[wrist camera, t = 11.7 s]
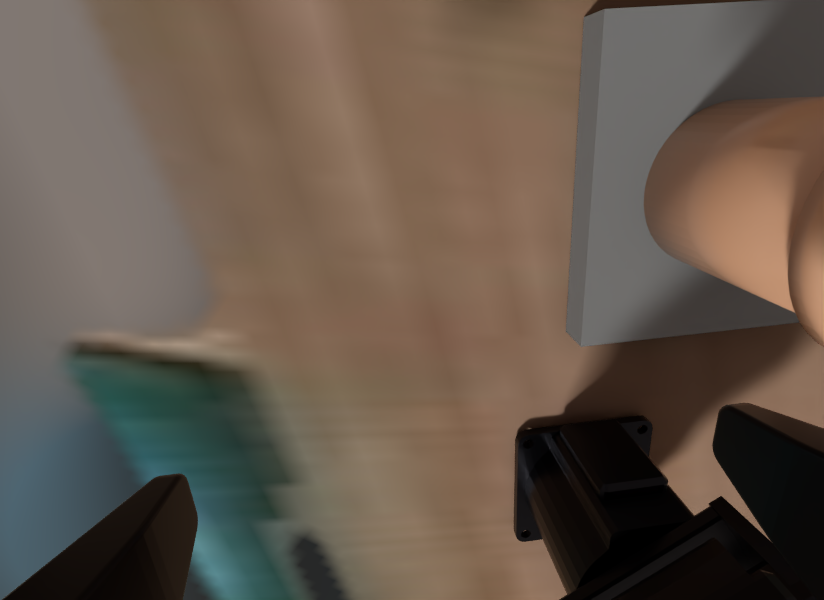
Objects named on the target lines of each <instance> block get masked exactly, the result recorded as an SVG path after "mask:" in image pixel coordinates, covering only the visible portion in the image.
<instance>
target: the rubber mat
mask: <svg viewBox="0 0 824 600" xmlns="http://www.w3.org/2000/svg"><path fill="white" fill-rule="evenodd" d="M795 97H824V0H762V1H743V2H724V3H705V4H687V5H668V6H649V7H630V8H611V9H603V10H601V11H598V12H596V13H593V14H591V15H588V16H586V17H584V25H583V43H582V60H581V78H580V95H579V113H578V130H577V147H576V165H575V182H574V200H573V217H572V235H571V252H570V270H569V287H568V304H567V322H566V332H567V333H568V334H569V335H570V336H571V337H572V338H573V339H574V340H575V341H576V342H577V343H578V344H579V345H580V346H581V347H583V346H592V345H601V344H610V343H619V342H628V341H637V340H646V339H655V338H664V337H673V336H682V335H691V334H700V333H709V332H718V331H727V330H736V329H745V328H754V327H763V326H772V325H781V324H790V323H799V320H798V318H797V316H796V313H794V312H792V311H790V310H788V309H786V308H783V307H781V306H779V305H777V304H774V303H772V302H770V301H768V300H766V299H763V298H761V297H759V296H757V295H754V294H752V293H750V292H748V291H746V290H743V289H741V288H739V287H737V286H734V285H732V284H730V283H728V282H726V281H723V280H721V279H719V278H717V277H714V276H712V275H710V274H708V273H706V272H703V271H701V270H699V269H697V268H695V267H692V266H690V265H688V264H686V263H683V262H681V261H679V260H677V259H675V258H673V257H671V256H670V255H668V254H666V253H665V252H664V251H663V250H662V249H661V248H660V247H659V246H658V245H657V243H656V242H655V241H654V239H653V237H652V236H651V234H650V232H649V229H648V226H647V223H646V219H645V214H644V192H645V186H646V181H647V178H648V174H649V171H650V169H651V166H652V164H653V161H654V159H655V158H656V156H657V154H658V152H659V150H660V149H661V147H662V146H663V144H664V143H665V142H666V140H667V139H668V138H669V137H670V135H671V134H672V133H673V132H674V131H675V130H676V129H677V128H678V127H679V126H680V125H681V124H682V123H683V122H684V121H686V120H687V119H689V118H690V117H691V116H693V115H694V114H696V113H697V112H699V111H701V110H703V109H704V108H707V107H709V106H711V105H714V104H717V103H720V102H724V101H730V100H739V99H767V98H795Z"/></svg>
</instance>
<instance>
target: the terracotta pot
mask: <svg viewBox="0 0 824 600" xmlns="http://www.w3.org/2000/svg"><path fill="white" fill-rule="evenodd" d="M644 214H645V219H646V223H647V226H648V229H649V232H650V234H651V236H652V237H653V239H654V241H655V242H656V243H657V245H658V246H659V247H660V248H661V249H662V250H663V251H664V252H665V253H666V254H668V255H670V256H671V257H673V258H675V259H677V260H679V261H681V262H683V263H686V264H688V265H690V266H692V267H695V268H697V269H699V270H701V271H703V272H706V273H708V274H710V275H712V276H714V277H717V278H719V279H721V280H723V281H726V282H728V283H730V284H732V285H734V286H737V287H739V288H741V289H743V290H746V291H748V292H750V293H752V294H754V295H757V296H759V297H761V298H763V299H766V300H768V301H770V302H772V303H774V304H777V305H779V306H781V307H783V308H786V309H788V310H790V311H792V312H794V313H796V316H797V318H798V320H799V322H800V324H801V325H802V326H803V328H804V329H805V331H806V332H807V333H808V334H809V335H810V336H811V337H812V338H813V339H814V340H815V341H816V342H817V343H818V344H820V345H821V346H823V347H824V97H795V98H767V99H739V100H730V101H724V102H720V103H717V104H714V105H711V106H709V107H707V108H704V109H703V110H701V111H699V112H697V113H696V114H694V115H693V116H691V117H690V118H689V119H687V120H686V121H684V122H683V123H682V124H681V125H680V126H679V127H678V128H677V129H676V130H675V131H674V132H673V133H672V134H671V135H670V137H669V138H668V139H667V140H666V142H665V143H664V144H663V146H662V147H661V149H660V150H659V152H658V154H657V156H656V158H655V159H654V161H653V164H652V166H651V169H650V171H649V174H648V178H647V181H646V186H645V192H644Z"/></svg>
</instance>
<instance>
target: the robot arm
mask: <svg viewBox="0 0 824 600" xmlns="http://www.w3.org/2000/svg"><path fill="white" fill-rule="evenodd" d="M641 425H642V427H641V428H639V427H640V426H641ZM638 428H639V429H638ZM652 429H653V428H652V424H651V422H650V421H649V420H648V419H647V418H646V417H644V416H632V417H624V418H616V419H608V420H600V421H592V422H584V423H576V424H568V425H560V426H552V427H544V428H536V429H528V430H524V431H521V432H520V433H518V435H517V436H516V439H515V488H514V532H515V535H516V537H517V539H518V540H519V541H522V542H526V541H533V540H540V539H543V541H544V543H545V545H546V548H547V550H548V552H549V554H550V557H551V559H552V561H553V563H554V566H555V568H556V570H557V572H558V575H559V577H560V579H561V581H562V584H563V586H564V588H565V590H566V593H567V595H566V596H564V597H563V598H561V599H559V600H824V428H821V427H818V426H815V425H812V424H809V423H806V422H803V421H800V420H797V419H794V418H791V417H788V416H785V415H782V414H780V413H777V412H774V411H771V410H768V409H765V408H762V407H759V406H756V405H753V404H750V403H739V404H731V405H725V406H723V407H722V408H721V409H720V411H719V413H718V418H717V423H716V428H715V434H714V439H713V452H714V455H715V457H716V459H717V461H718V463H719V464H720V466H721V467H722V469H723V470H724V472H725V473H726V475H727V476H728V478H729V479H730V481H731V482H732V484H733V485H734V487H735V488H736V490H737V491H738V493H739V494H740V496H741V497H742V499H743V500H744V502H745V503H746V505H747V506H748V508H749V510H750V511H751V513H752V514H753V516H754V517H755V519H756V520H757V522H758V523H759V525H760V526H761V528H762V529H763V530H764V532H765V533H766V535H767V536H768V538H769V539H770V540H768V539H767V538H766V537H765V536H764V535H763V534H762V533H761V532H760V531H759V530H758V529H757V528H755V527H754V526H753V525H752V524H751V523H750V522H749V521H748V520H747V519H746V518H745V517H744V516H742V515H741V514H740V513H739V512H738V511H737V510H736V509H735V508H734V507H733V506H732V505H731V504H729V503H728V502H727V501H726V500H725V499H724V498H723V497H722V496H720V497H719V498H717V499H715V500H714V501H712V502H711V503H709V507H708V508H706V509H705V510H703V511H701V512H700V513H698V514H697V515H695V516H694V515H693V513H692V512H691V511H690V510H689V509H688V507H687V506H686V505H685V504H684V503H683V502H682V500H681V499H680V498H679V497H678V496H677V494H676V493H675V492H674V491H673V490H672V489H671V487H670V486H669V485H668V479H667V478H666V477H665V475H664V474H663V473H662V472H661V471H660V470H659V468H658V467H657V466H656V465H655V464H654V463H653V461H652V460H651V459H650V458H649V450H650V443H651V436H652ZM528 439H530V441H529V442H528V443H524V442H525V441H526V440H528ZM197 526H198V517H197V511H196V508H195V504H194V501H193V497H192V494H191V490H190V487H189V483H188V481H187V478H186V477H185V476H184V475H183V474H171V475H163V476H158V477H155V478H154V479H152V480H151V481H150V482H148V483H147V484H146V485H145V486H143V487H142V488H141V489H140V490H138V491H137V492H136V493H135V494H133V495H132V496H131V497H130V498H128V499H127V500H126V501H125V502H123V503H122V504H121V505H120V506H118V507H117V508H116V509H115V510H113V511H112V512H111V513H110V514H108V515H107V516H106V517H105V518H103V519H102V520H101V521H100V522H98V523H97V524H96V525H95V526H93V527H92V528H91V529H90V530H88V531H87V532H86V533H85V534H83V535H82V536H81V537H80V538H78V539H77V540H76V541H75V542H73V543H72V544H71V545H70V546H68V547H67V548H66V549H65V550H63V552H61V553H60V554H58V555H57V556H56V557H55V558H53V559H52V560H51V561H50V562H48V563H47V564H46V565H45V566H43V567H42V568H41V569H40V570H39V571H37V572H36V573H35V574H33V575H32V576H31V577H30V578H28V579H27V580H26V581H25V582H24V583H22V584H21V585H20V586H18V587H17V588H16V589H15V590H13V591H12V592H11V593H10V594H8V595H7V596H6V597H5V598H3V599H2V600H183V596H184V592H185V587H186V582H187V577H188V572H189V567H190V562H191V557H192V552H193V547H194V542H195V537H196V532H197ZM525 530H526V531H525ZM523 531H524V532H523Z"/></svg>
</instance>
